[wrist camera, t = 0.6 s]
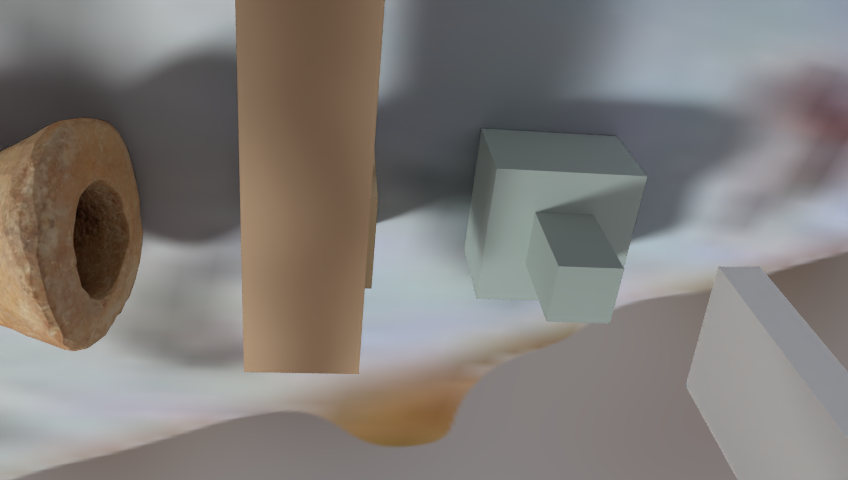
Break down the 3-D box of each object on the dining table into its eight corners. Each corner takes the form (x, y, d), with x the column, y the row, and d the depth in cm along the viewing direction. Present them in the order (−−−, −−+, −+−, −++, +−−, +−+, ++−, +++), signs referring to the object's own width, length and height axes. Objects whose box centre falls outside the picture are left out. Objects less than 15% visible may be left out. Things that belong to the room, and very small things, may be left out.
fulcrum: (464, 249, 36) (491, 359, 29) (481, 128, 33) (516, 219, 26) (589, 254, 37) (644, 362, 30) (617, 136, 34) (685, 226, 27)
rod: (255, 305, 31) (244, 371, 27) (245, -404, 20) (224, -442, 16) (357, 308, 31) (358, 374, 28) (402, -382, 20) (413, -416, 17)
